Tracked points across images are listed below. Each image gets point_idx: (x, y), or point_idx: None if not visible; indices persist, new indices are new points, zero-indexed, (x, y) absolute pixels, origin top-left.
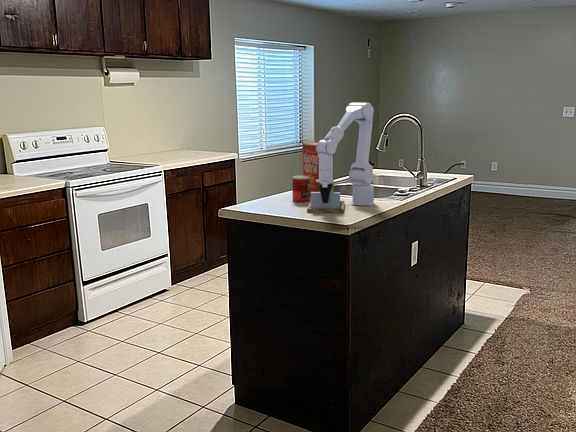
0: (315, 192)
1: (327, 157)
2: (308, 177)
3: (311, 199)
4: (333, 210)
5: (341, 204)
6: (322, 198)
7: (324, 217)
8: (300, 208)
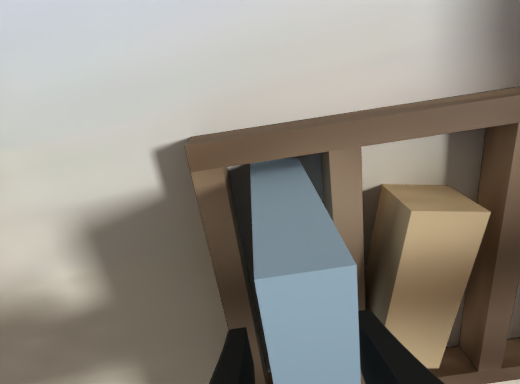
0: (308, 341)
1: None
2: None
3: (252, 222)
4: None
5: (472, 362)
6: (214, 376)
7: (53, 312)
8: (391, 6)
